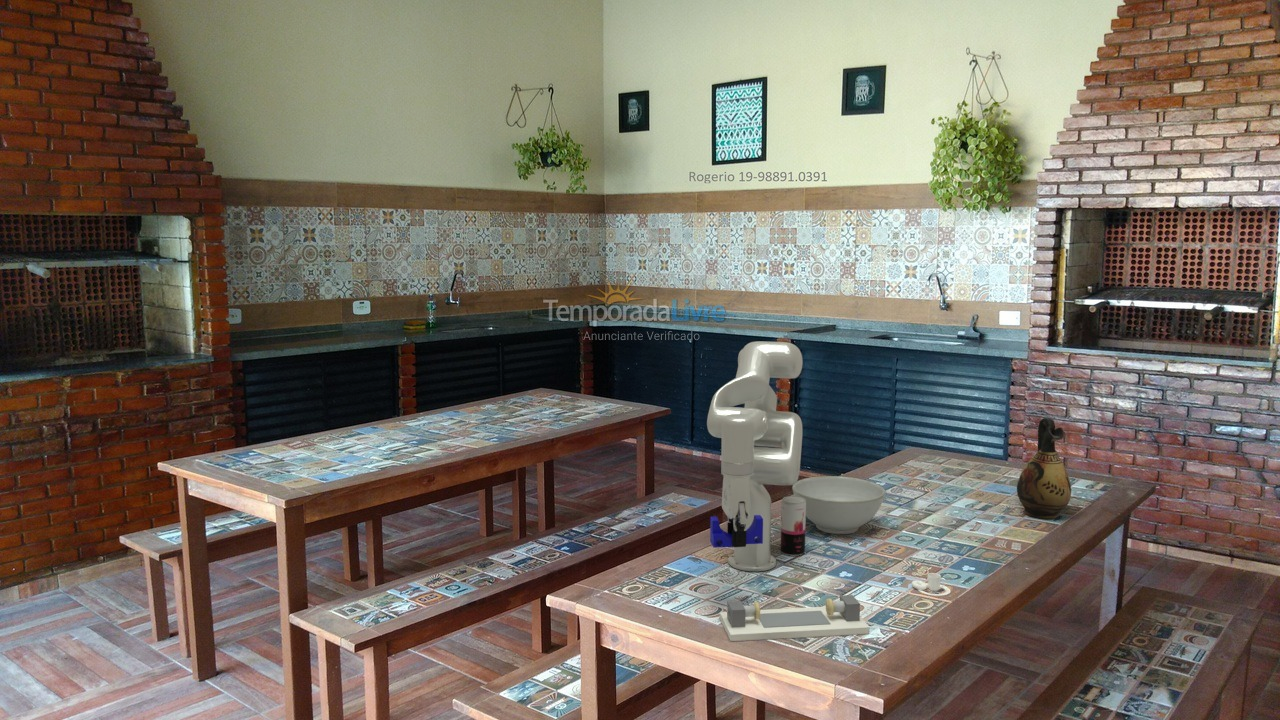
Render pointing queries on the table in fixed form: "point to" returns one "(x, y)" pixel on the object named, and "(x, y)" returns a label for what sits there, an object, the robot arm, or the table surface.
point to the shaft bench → (793, 620)
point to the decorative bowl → (839, 502)
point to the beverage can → (793, 525)
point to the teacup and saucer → (931, 584)
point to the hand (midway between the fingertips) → (736, 541)
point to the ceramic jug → (1045, 476)
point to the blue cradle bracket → (725, 539)
